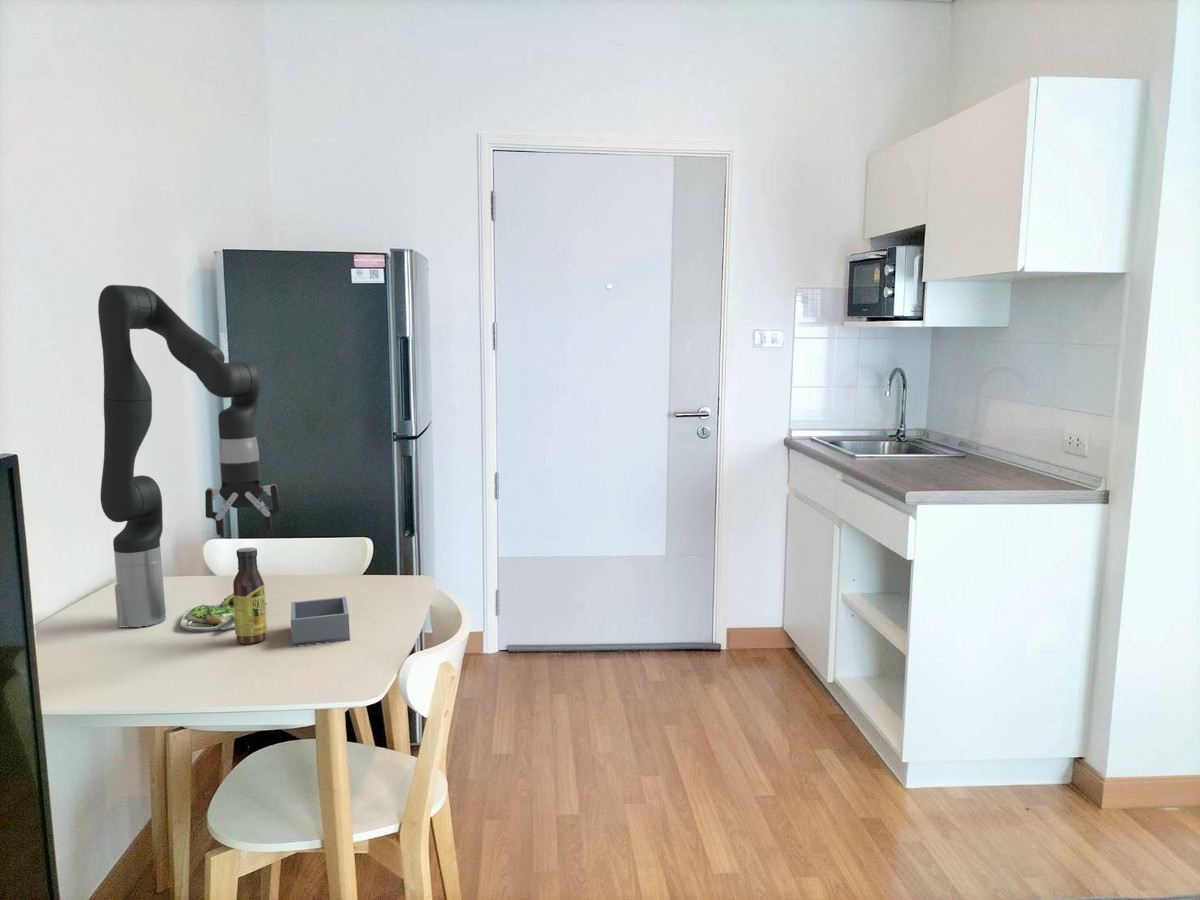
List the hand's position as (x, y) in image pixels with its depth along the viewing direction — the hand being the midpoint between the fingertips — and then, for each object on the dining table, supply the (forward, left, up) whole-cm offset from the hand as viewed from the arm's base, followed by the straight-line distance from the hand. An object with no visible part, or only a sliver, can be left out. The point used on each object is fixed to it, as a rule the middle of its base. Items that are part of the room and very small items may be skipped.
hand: (244, 535), depth 181 cm
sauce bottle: (0, 0, -23) cm, 23 cm away
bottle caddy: (+14, -1, -23) cm, 27 cm away
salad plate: (-7, +17, -24) cm, 30 cm away
